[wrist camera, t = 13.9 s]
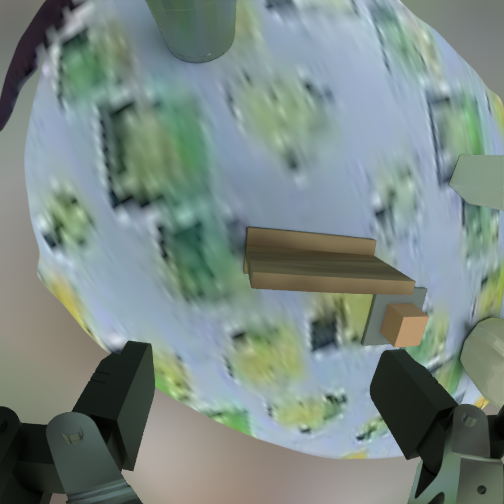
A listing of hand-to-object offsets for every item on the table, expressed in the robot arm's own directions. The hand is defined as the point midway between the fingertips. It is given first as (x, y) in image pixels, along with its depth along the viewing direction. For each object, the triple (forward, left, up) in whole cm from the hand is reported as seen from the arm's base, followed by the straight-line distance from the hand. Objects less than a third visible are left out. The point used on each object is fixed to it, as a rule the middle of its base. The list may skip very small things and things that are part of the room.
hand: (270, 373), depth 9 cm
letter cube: (+12, +26, -29) cm, 41 cm away
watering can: (+20, +54, -30) cm, 65 cm away
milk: (-12, +36, -30) cm, 48 cm away
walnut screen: (+3, +10, -30) cm, 32 cm away
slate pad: (+12, +26, -30) cm, 41 cm away
